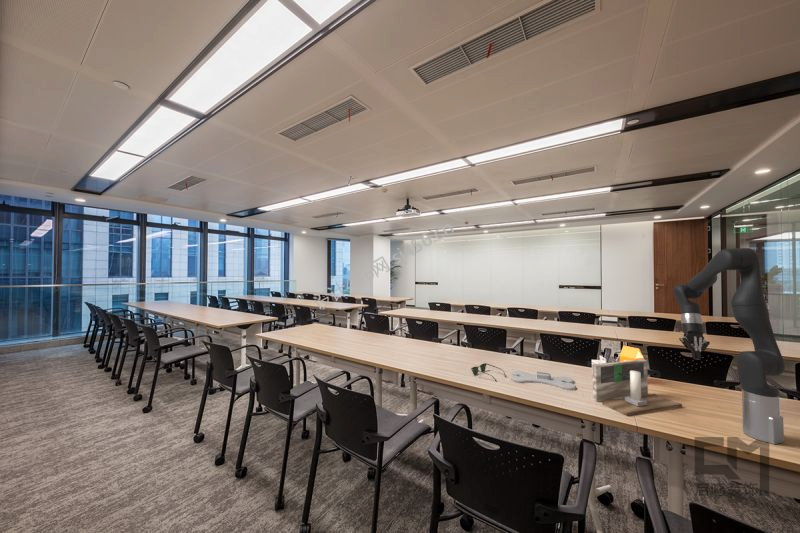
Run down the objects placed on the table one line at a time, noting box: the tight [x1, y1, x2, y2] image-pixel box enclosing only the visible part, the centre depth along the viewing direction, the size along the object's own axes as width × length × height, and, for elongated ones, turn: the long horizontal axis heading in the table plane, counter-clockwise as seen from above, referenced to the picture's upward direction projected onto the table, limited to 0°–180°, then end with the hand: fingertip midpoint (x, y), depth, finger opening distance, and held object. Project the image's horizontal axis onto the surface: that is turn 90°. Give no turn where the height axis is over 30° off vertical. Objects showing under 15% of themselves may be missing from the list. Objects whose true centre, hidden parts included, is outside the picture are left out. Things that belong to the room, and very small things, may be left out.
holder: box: [510, 370, 577, 391], centre depth 172 cm, size 19×34×5 cm, turn 65°
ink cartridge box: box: [591, 355, 607, 380], centre depth 171 cm, size 9×5×15 cm, turn 168°
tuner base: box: [591, 358, 683, 417], centre depth 142 cm, size 17×34×18 cm, turn 104°
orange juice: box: [619, 345, 645, 362], centre depth 172 cm, size 8×9×20 cm
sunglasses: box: [470, 362, 507, 383], centre depth 180 cm, size 16×17×5 cm
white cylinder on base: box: [619, 371, 647, 406], centre depth 141 cm, size 11×6×15 cm, turn 14°
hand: (696, 359), depth 138 cm, fingers closed
